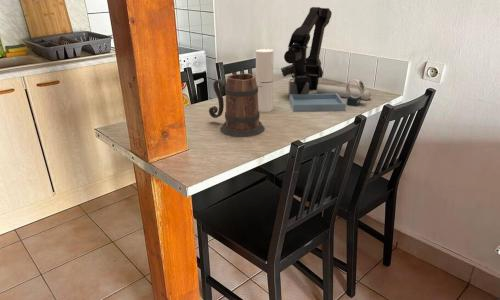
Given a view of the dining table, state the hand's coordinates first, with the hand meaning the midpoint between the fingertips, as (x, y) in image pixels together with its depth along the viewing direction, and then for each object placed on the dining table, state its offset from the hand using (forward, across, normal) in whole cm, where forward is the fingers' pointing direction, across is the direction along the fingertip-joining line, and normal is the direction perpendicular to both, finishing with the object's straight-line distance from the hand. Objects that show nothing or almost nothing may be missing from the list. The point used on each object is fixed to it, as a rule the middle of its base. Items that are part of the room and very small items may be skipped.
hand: (298, 92), depth 177 cm
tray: (+2, +15, +6) cm, 16 cm away
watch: (+2, +14, +23) cm, 27 cm away
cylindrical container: (+2, +19, -17) cm, 26 cm away
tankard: (+2, +40, -29) cm, 49 cm away
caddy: (+1, 0, 0) cm, 1 cm away
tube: (+2, +2, +21) cm, 21 cm away
